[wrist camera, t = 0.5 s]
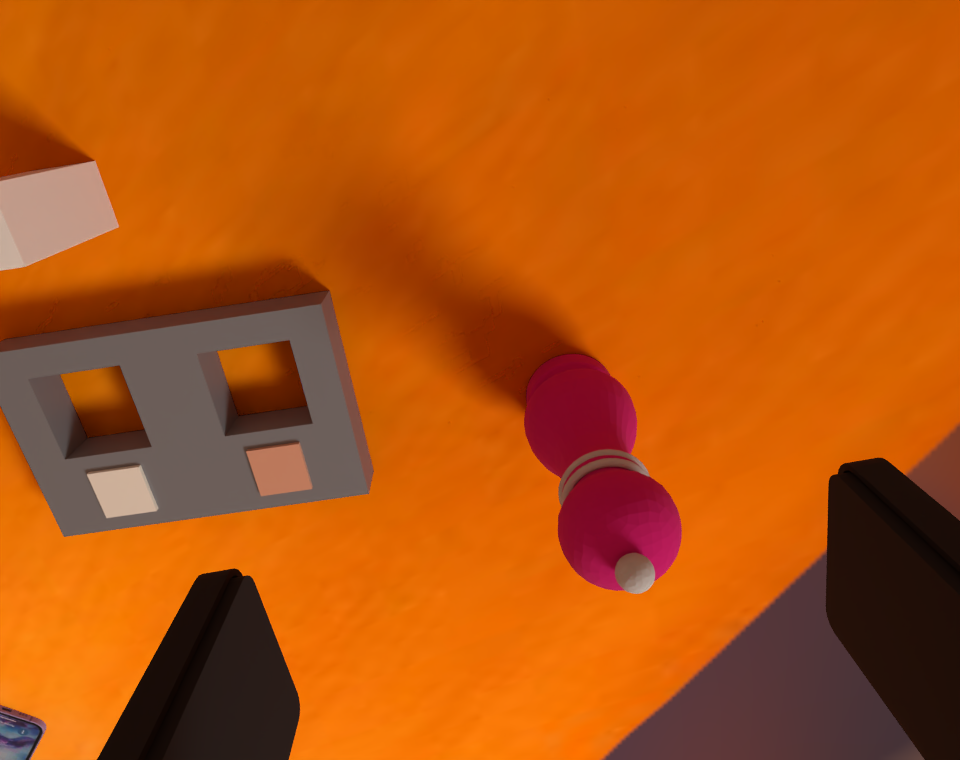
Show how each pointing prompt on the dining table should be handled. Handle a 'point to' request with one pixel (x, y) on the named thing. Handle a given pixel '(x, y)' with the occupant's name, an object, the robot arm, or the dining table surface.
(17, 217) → the plug
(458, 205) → the dining table surface
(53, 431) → the socket board
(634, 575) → the pepper mill
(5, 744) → the smartphone
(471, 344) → the dining table surface
